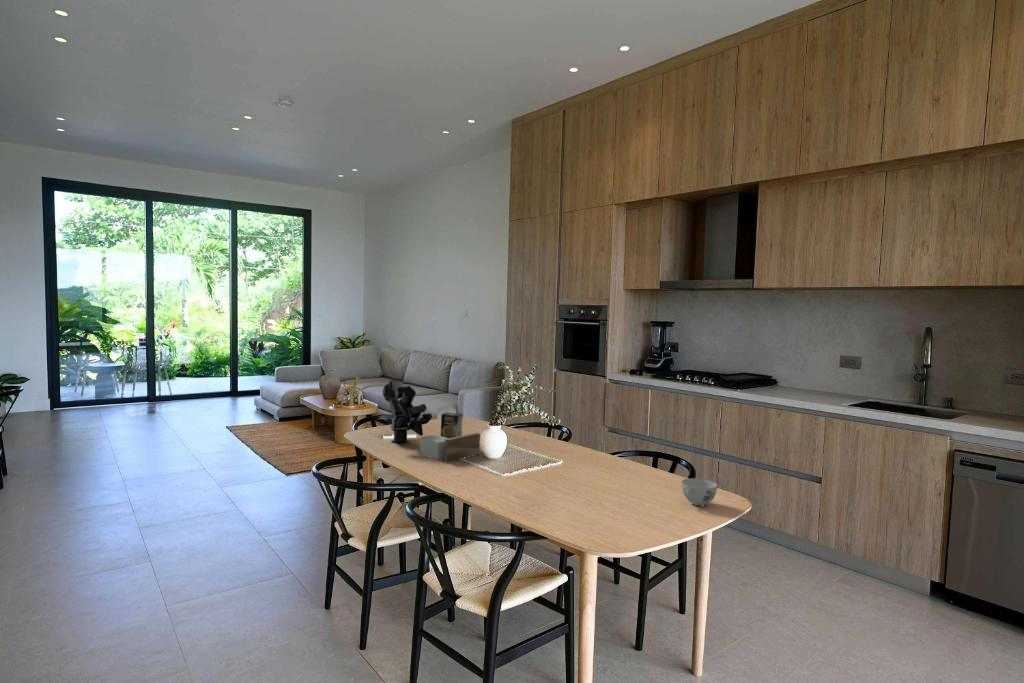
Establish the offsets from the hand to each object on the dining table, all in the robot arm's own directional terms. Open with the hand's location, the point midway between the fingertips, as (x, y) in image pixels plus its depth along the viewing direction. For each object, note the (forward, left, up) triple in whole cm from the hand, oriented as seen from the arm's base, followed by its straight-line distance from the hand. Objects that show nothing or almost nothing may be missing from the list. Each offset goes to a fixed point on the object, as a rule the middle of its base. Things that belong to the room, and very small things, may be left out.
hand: (421, 435), depth 266 cm
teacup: (+124, +25, -8) cm, 127 cm away
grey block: (+11, 0, -8) cm, 13 cm away
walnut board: (+22, +5, -7) cm, 24 cm away
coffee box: (+2, +17, -8) cm, 19 cm away
